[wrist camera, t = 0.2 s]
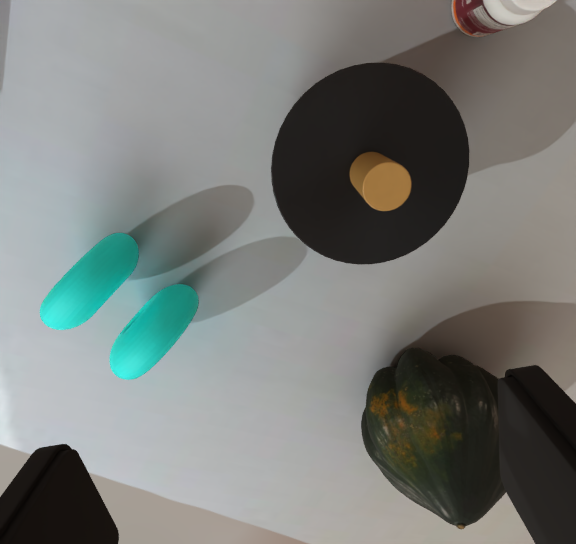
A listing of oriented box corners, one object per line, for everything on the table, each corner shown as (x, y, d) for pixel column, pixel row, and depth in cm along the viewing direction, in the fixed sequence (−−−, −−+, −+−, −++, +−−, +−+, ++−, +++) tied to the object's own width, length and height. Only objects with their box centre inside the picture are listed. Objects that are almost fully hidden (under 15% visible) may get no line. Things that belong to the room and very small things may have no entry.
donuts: (151, 343, 44) (115, 407, 35) (72, 283, 41) (9, 334, 32) (213, 283, 41) (191, 334, 32) (132, 213, 39) (83, 248, 29)
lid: (251, 91, 26) (240, 87, 20) (456, 41, 24) (507, 22, 19) (293, 274, 30) (294, 313, 24) (468, 239, 29) (511, 272, 23)
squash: (482, 316, 36) (433, 482, 29) (560, 412, 41) (536, 576, 33) (366, 330, 48) (308, 451, 40) (438, 403, 52) (398, 525, 45)
